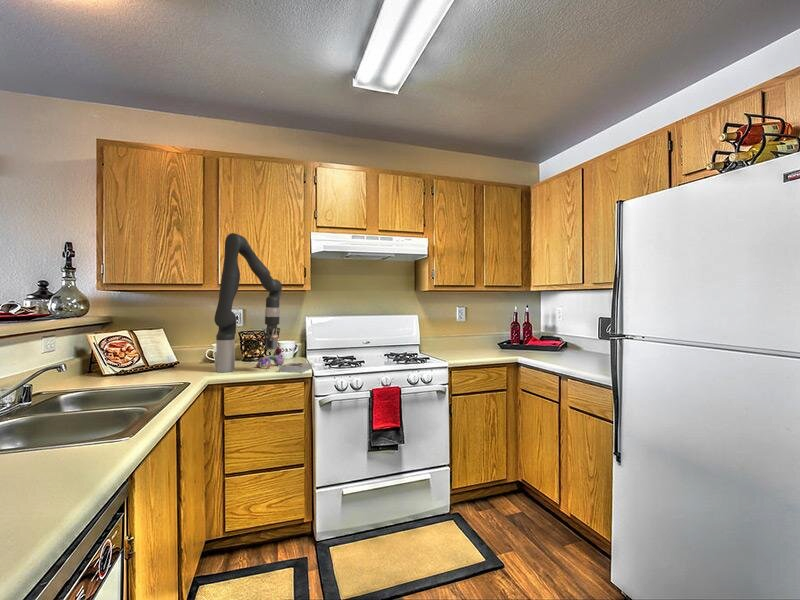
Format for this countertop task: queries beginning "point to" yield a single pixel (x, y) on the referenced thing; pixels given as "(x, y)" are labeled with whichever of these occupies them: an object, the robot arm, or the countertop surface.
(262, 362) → the toy
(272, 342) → the plug
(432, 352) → the countertop surface
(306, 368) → the socket plate
